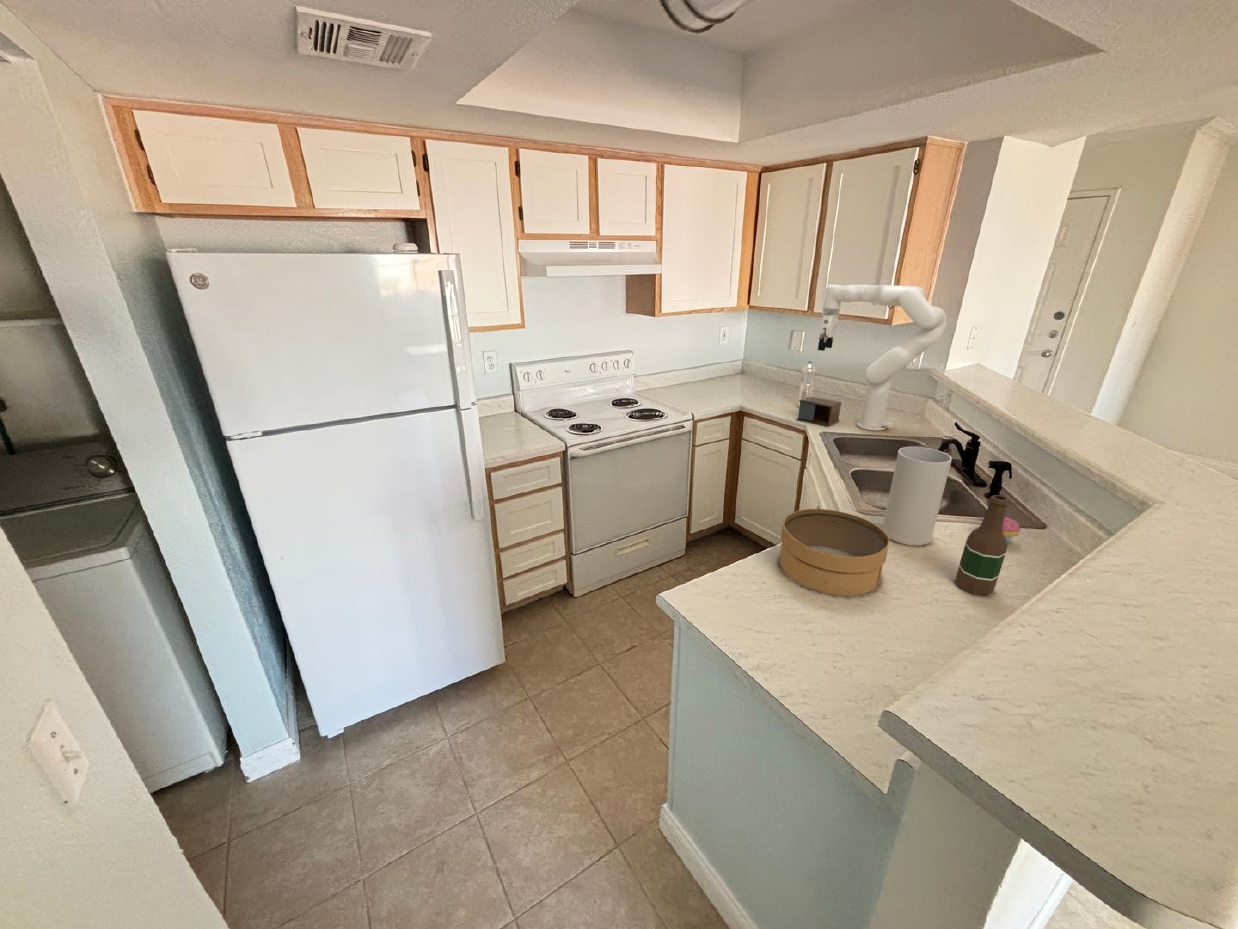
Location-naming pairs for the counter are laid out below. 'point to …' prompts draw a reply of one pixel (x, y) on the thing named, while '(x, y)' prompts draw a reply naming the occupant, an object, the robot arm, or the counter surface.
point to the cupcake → (1010, 528)
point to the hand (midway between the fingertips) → (824, 348)
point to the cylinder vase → (916, 495)
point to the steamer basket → (827, 568)
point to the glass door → (806, 408)
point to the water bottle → (807, 380)
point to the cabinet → (824, 411)
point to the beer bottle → (984, 551)
